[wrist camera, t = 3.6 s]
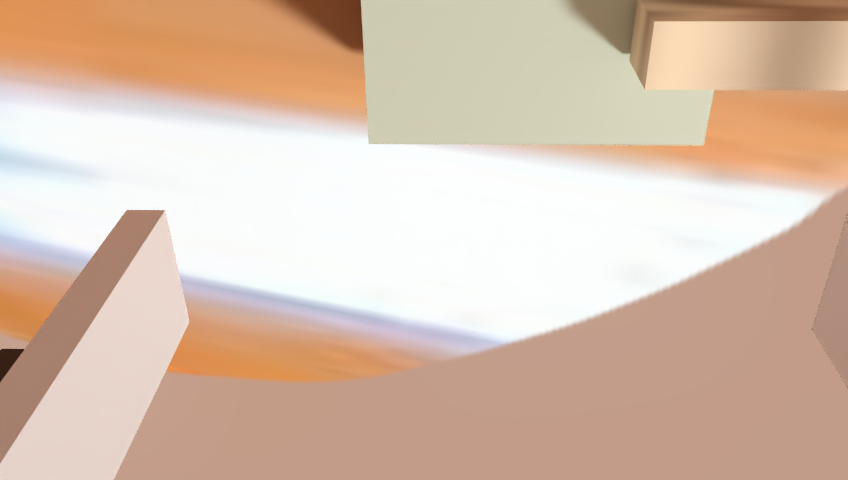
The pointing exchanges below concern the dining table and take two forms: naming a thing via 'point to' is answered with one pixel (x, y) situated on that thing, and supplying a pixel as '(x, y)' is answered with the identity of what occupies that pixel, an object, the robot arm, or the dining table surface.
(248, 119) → the dining table surface
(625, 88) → the grey rectangular block
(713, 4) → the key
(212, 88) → the dining table surface
